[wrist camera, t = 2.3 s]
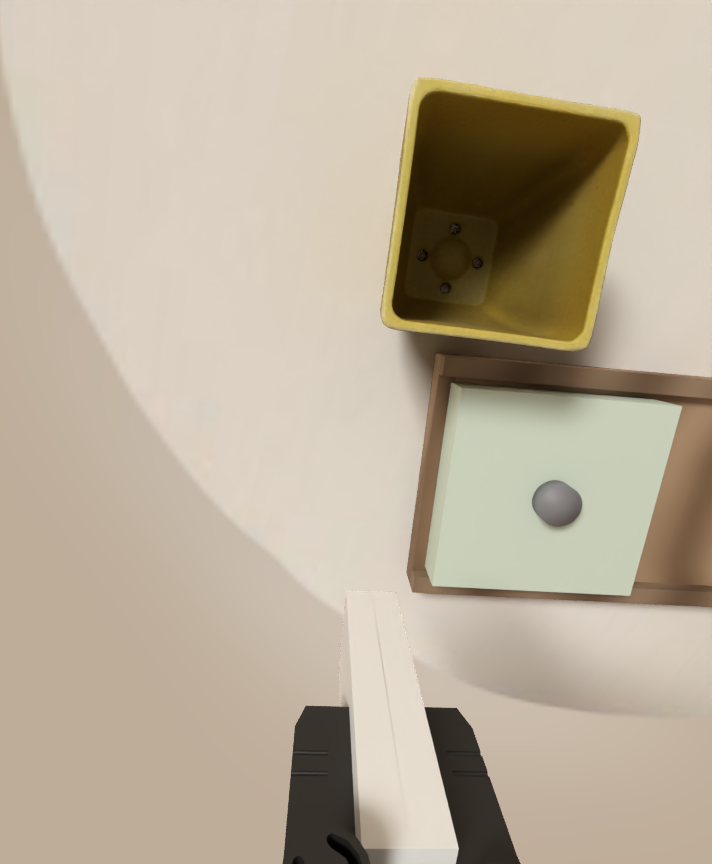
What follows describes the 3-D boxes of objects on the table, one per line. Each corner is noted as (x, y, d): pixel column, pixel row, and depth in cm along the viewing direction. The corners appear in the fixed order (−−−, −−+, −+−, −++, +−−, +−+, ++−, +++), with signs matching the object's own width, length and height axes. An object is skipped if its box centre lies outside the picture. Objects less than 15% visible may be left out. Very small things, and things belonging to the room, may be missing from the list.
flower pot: (384, 160, 24) (413, 69, 15) (537, 185, 25) (649, 111, 16) (363, 325, 26) (379, 327, 17) (505, 343, 27) (588, 354, 18)
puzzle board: (813, 386, 28) (854, 392, 26) (743, 589, 32) (774, 609, 30) (435, 353, 27) (445, 356, 24) (406, 572, 30) (412, 592, 28)
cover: (654, 399, 26) (697, 409, 23) (608, 575, 29) (641, 605, 26) (451, 382, 25) (467, 390, 22) (424, 566, 28) (436, 596, 25)
